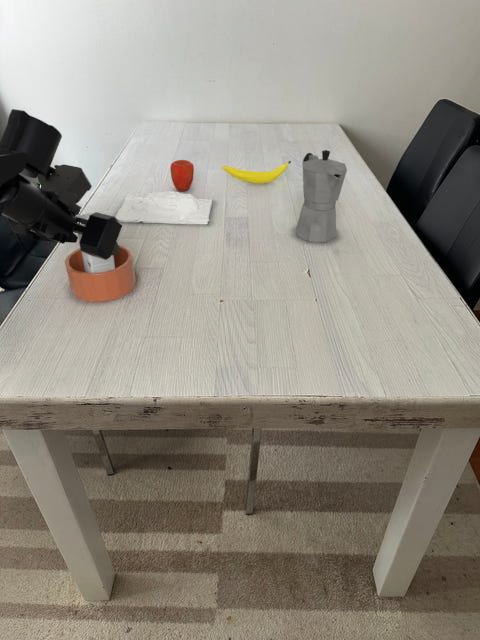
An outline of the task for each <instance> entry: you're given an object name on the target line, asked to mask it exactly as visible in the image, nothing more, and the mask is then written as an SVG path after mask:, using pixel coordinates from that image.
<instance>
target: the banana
mask: <svg viewBox="0 0 480 640" xmlns="http://www.w3.org/2000/svg"><path fill="white" fill-rule="evenodd" d="M291 163H292V161H291V160H288V162H286V163H284V164H282V165H280V166H278V167H277V168H275V169H273V170H270V171H251V170H244V169H240V168H235V167H232V166H227V165H221V166H220V167H221V168H222V169H223V170H224V171H225V172H226V173H227V174H228V175H229V176H231V177H233V178H234V179H236V180H239V181H242V182H246V183H251V184H258V185H260V184H261V185H262V184H268V183H271V182H274V181H275V180H277V179H279V177H281V176H282V175H283V174H284V173H285V171H286V170H287V168H288V166H289V165H290V164H291Z"/></svg>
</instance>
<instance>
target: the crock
mask: <svg viewBox="0 0 480 640" xmlns="http://www.w3.org/2000/svg"><path fill="white" fill-rule="evenodd" d="M118 245H119V247H120V252H119V254H118V255H113V256H114V263H115V269H113V270H109V271H106V272H99V273H85V267H84V262H83V257H82V252H81V249H80V247H79V248H77V249H75V250H74V251H72V252H71V253H69V254H68V255H67V256H66V258H65V260H64V265H65V269H66V273H67V277H68V281H69V285H70V289H71V293H72V294H73V295H74V297H75V298H77V299H78V300H81V301H85V302H89V303H104V302H105V303H106V302H110V301H114V300H118V299H121V298H123V297H125V296H127V295H128V294H130V293H131V292H132V291H133V290H134V288H135V286H136V282H137V281H136V279H137V277H136V272H135V264H134V258H133V257H134V256H133V254H132V252H131V250H130V249H129V248H128V247H126V246H123V245H120V244H118Z"/></svg>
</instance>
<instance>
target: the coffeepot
mask: <svg viewBox="0 0 480 640" xmlns="http://www.w3.org/2000/svg"><path fill="white" fill-rule="evenodd" d="M321 154H322V155H321V157H322V158H319V156H318V155H316V154H313V153H311V152H307V153H306V154H305V156H304V157H303V159H302V162H301V163H302V164H301V165H302V187H303V203H302V205H301V210H300V213H299V216H298V220H297V223H296V224H297V225H296V227H295V229H296V231H295V232H296V237H298V238H299V239H301V240H303V241H306V242H310V243H314V244H315V243H316V244H317V243H318V244H319V243H328V242H331V241H333V240H334V239H335V238H337V212H336V211H337V210H336V204H337V201H339V198H340V194H341V191H342V188H343V185H344V181H345V178H346V176H347V175H346V174H347V171H348V168H347V165H346V163H344V162H341V161H337V160H334V159H330V158H329V157H330V154H331V151H330V150H327V149H324V150H322V151H321Z"/></svg>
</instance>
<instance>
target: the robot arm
mask: <svg viewBox="0 0 480 640" xmlns="http://www.w3.org/2000/svg"><path fill="white" fill-rule="evenodd" d="M62 138H63V135H62V133H61V132H60V130H58V128H56V127H55V126H54V125H51V124H48V123H46V122H45V121H43V120H42V119H39V118H37V117H35V116H32V115H30V114H29V113H27V112H26V111H25V110H22V109H16V108H12V109H11V110H10V113H9V115H8V118H7V123H6V126H5V128H4V131H3V134H2V136H1V139H0V218H1V217H2V216H4V217H6V218H8V219H10V220H9V222H8V224H9V227H10V230H11V232H13V233H15V234H17V235H19V236H22V237H25V238H29V239H31V240H36V241H38V242H39V241H40V242H54V243H55V242H56V243H59V244H62V245H63V244H64V245H65V243H74V244H76V243H77V242H78V244H79V248H80V249H81V251H82V252H84V253H86V254H89V255H91V256H94V257H98V258H101V259H105V260H107V259H108V258H110V257H111V256H112V255H118V254H119V252H120V247H119V245H120V244H119V243H118V238H119V236H120V234H121V231H122V228H123V222H121V221H119V220H118V219H117V218H115V217H116V216H114V215H109V214H105V213H102V212H99V211H94V212H95V213H93V214H91V215H90V216H89V219H88V220H87V219H83V218H79V217H75V216H78V215H80V212H81V209H82V206H80V205H79V202H80V201H81V200H82V199H83V198H84V196H85V195H86V194H87V192H89V191H90V190H91V189H92V186H93V185H92V183H91V182H90V180H89V179H88V177H87V175H86V173H85V171H84V170H83V168H81V167H79V166H74V165H69V164H60V165H58V164H54V167H53V166H51V165H52V163H53V160H54V158H55V155H56V153H57V150H58V148H59V145H60V143H61V140H62ZM24 176H25V177H24ZM26 177H29V178H31V179H37V181H38V184H39V185H40V187H39V186H38V185H37V184H35V183H34V182H32V181H30V180H29V179H27V178H26ZM98 212H99V213H98ZM81 225H82V226H81ZM78 234H82V237H81V239H80V241H79V236H78Z"/></svg>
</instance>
